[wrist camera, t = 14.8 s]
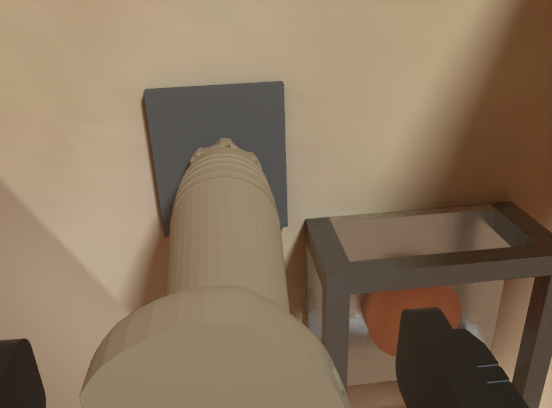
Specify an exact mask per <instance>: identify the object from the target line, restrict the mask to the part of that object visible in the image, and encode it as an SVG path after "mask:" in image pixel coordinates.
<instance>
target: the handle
mask: <svg viewBox="0 0 552 408" xmlns="http://www.w3.org/2000/svg"><path fill="white" fill-rule="evenodd" d="M190 163H191V164H190V166H189V167H188V169H187V170H186V172H185V174H184V176H183V178H182V180H181V183H180V185H179V188H178V191H177V194H176V198H175V202H174V206H173V211H172V216H171V221H170V236H169V254H168V271H167V285H166V296H165V297H162V298H159V299H156V300H154V301H152V302H151V303H149V304H147V305H145V306H143V307H141V308H139V309H137V310H135V311H133V312H132V313H131V314H129V315H128V316H127V317H125V318H124V319H122V320H121V321H120V322H118V323H117V324H116V325H115V326H114V327H113V329H112V330H111V331H110V332H109V333H108V334H107V336H106V337H105V338H104V339H103V341H102V342H101V344H100V346H99V347H98V349H97V350H96V352H95V354H94V356H93V358H92V360H91V363H90V366H89V368H88V372H87V374H86V378H85V381H84V383H83V386H82V390H81V393H80V401H81V408H351V404H350V401H349V398H348V395H347V393H346V390H345V387H344V385H343V383H342V381H341V378H340V376H339V374H338V372H337V370H336V368H335V365H334V363H333V361H332V359H331V357H330V355H329V353H328V351H327V350H326V348H325V347H324V346H323V344H322V343H321V341H320V340H319V338H318V337H317V336H316V335H315V334H314V333H313V332H312V331H311V330H310V329H308V328H307V327H306V326H305V325H304V324H303V323H301V322H300V321H299V320H298V319H297V318H295V317H294V316H293V315H291V314H290V309H289V300H288V292H287V284H286V275H285V266H284V256H283V246H282V236H281V227H280V221H279V217H278V212H277V208H276V204H275V201H274V197H273V195H272V192H271V189H270V187H269V184H268V181H267V179H266V177H265V175H264V173H263V171H262V167H261V164H260V162H259V160H258V158H257V157H256V156H255V154H254V153H253V152H247V151H244V150H242V149H240V148H239V147H238V146H236V145H235V144H234V143H233V142H232V140H231V139H230V138H220V139H219V140H218V142H216V143H215V144H213V145H212V146H209V147H205V148H201V147H200V148H198V149H197V150H196V151H195V153H194V154H193V156H192V157H191V159H190Z"/></svg>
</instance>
